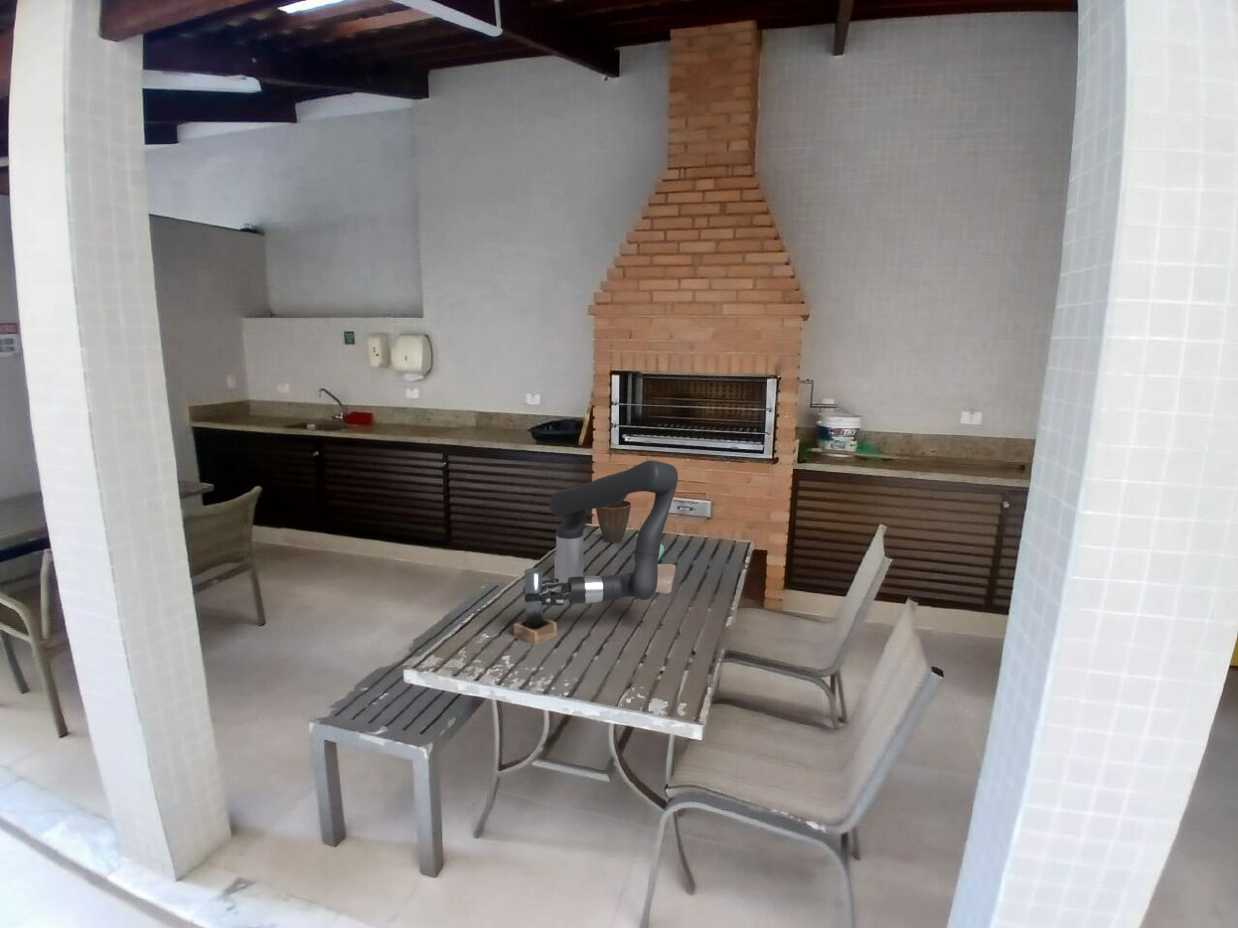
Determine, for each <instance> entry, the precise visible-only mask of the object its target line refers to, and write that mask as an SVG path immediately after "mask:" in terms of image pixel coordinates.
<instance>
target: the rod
mask: <svg viewBox="0 0 1238 928" xmlns="http://www.w3.org/2000/svg"><path fill="white" fill-rule="evenodd" d="M523 574H524V586H525V594H526V593H538V594H539V593H540V592H542V581H543V570H542V569H541V568H538V567H531V568H526V569H525V570H524V573H523ZM525 594H524V595H525ZM524 604H525V610H524V611H525V619H526V627H527V628H530V629H538V628H541V627H542V626H543V618H544V610H543V609H544V608H543V606H544V605H542V602H539V601H534V602H525V601H524Z"/></svg>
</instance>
